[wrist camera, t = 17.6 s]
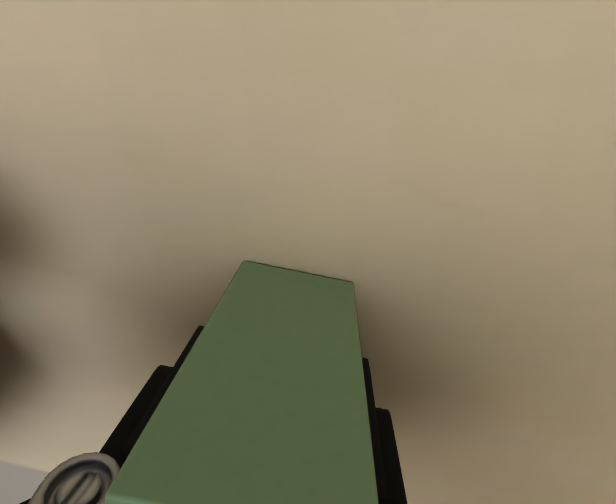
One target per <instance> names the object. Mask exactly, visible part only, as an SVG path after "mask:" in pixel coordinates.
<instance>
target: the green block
mask: <svg viewBox="0 0 616 504" xmlns="http://www.w3.org/2000/svg"><path fill="white" fill-rule="evenodd" d="M105 504H379V503H378V495H377V486H376V477H375V468H374V460H373V451H372V442H371V433H370V425H369V416H368V407H367V399H366V390H365V381H364V372H363V364H362V355H361V346H360V337H359V329H358V320H357V311H356V302H355V294H354V285H353V283H352V282H347V281H342V280H337V279H332V278H327V277H322V276H317V275H312V274H307V273H302V272H297V271H292V270H287V269H282V268H277V267H273V266H268V265H263V264H258V263H253V262H248V261H243V262H242V264H241V266H240V267H239V269H238V271H237V273H236V274H235V276H234V278H233V279H232V281H231V283H230V284H229V286H228V288H227V289H226V291H225V293H224V295H223V296H222V298H221V300H220V301H219V303H218V305H217V306H216V308H215V310H214V311H213V313H212V315H211V317H210V318H209V320H208V322H207V323H206V325H205V327H204V328H203V330H202V332H201V333H200V335H199V337H198V339H197V340H196V342H195V344H194V345H193V347H192V349H191V350H190V352H189V354H188V356H187V357H186V359H185V361H184V362H183V364H182V366H181V367H180V369H179V371H178V372H177V374H176V376H175V378H174V379H173V381H172V383H171V384H170V386H169V388H168V389H167V391H166V393H165V394H164V396H163V398H162V400H161V401H160V403H159V405H158V406H157V408H156V410H155V411H154V413H153V415H152V416H151V418H150V420H149V422H148V423H147V425H146V427H145V428H144V430H143V432H142V433H141V435H140V437H139V439H138V440H137V442H136V444H135V445H134V447H133V449H132V450H131V452H130V454H129V455H128V457H127V459H126V461H125V462H124V464H123V466H122V467H121V469H120V471H119V472H118V474H117V476H116V477H115V479H114V481H113V483H112V484H111V486H110V488H109V489H108V491H107V493H106V496H105Z"/></svg>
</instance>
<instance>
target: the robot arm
mask: <svg viewBox="0 0 616 504" xmlns="http://www.w3.org/2000/svg"><path fill="white" fill-rule="evenodd" d="M204 327H205V326H201V325H200V326H198V328H197V329H196V331H195V333H194V334H193V336H192V337H191V339H190V341H189V342H188V344H187V346H186V347H185V349H184V350H183V352H182V354H181V355H180V357H179V358H178V360H177V362H176V363H175V365H174V367H169V366H164V365H160V366H158V367H157V369H156V370H155V371H154V372H153V374H152V375H151V377H150V378H149V380H148V381H147V383H146V384H145V386H144V387H143V389H142V390H141V392H140V393H139V395H138V396H137V397H136V399H135V400H134V402H133V403H132V405H131V406H130V408H129V409H128V411H127V412H126V414H125V415H124V417H123V418H122V419H121V421H120V422H119V424H118V425H117V427H116V428H115V430H114V431H113V433H112V434H111V436H110V437H109V439H108V440H107V442H106V443H105V444H104V446H103V447H102V449H101V450H100V452H99V453H98V452H94V453H84V454H81V455H78V456H75V457H72V458H70V459H68V460H67V461H65V462H63V463H61V464H59V465H58V466H57V467H56V468H55V469H53V470H52V471H51V472H50V473H49V474H48V475H47V476H46V477H45V479H44V480H43V481H42V482H41V484H40V485H39V486H38V488H37V490H36V491H35V493H34V495H33V496H32V498H31V499H28V500H26V501H24V502H22V503H20V504H105V496H106V493H107V491H108V489H109V488H110V486H111V484H112V483H113V481H114V479H115V477H116V476H117V474H118V472H119V471H120V469H121V467H122V466H123V464H124V462H125V461H126V459H127V457H128V455H129V454H130V452H131V450H132V449H133V447H134V445H135V444H136V442H137V440H138V439H139V437H140V435H141V433H142V432H143V430H144V428H145V427H146V425H147V423H148V422H149V420H150V418H151V416H152V415H153V413H154V411H155V410H156V408H157V406H158V405H159V403H160V401H161V400H162V398H163V396H164V394H165V393H166V391H167V389H168V388H169V386H170V384H171V383H172V381H173V379H174V378H175V376H176V374H177V372H178V371H179V369H180V367H181V366H182V364H183V362H184V361H185V359H186V357H187V356H188V354H189V352H190V350H191V349H192V347H193V345H194V344H195V342H196V340H197V339H198V337H199V335H200V333H201V332H202V330H203V328H204ZM362 364H363V372H364V381H365V390H366V399H367V407H368V416H369V425H370V433H371V442H372V451H373V460H374V468H375V477H376V486H377V495H378V503H379V504H407V499H406V494H405V489H404V483H403V478H402V473H401V467H400V462H399V456H398V451H397V446H396V440H395V435H394V430H393V424H392V419H391V415H390V412H389V411H388V410H387V409H382V408H377V407H375V401H374V394H373V387H372V380H371V373H370V366H369V360H368V358H363V357H362Z"/></svg>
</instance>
